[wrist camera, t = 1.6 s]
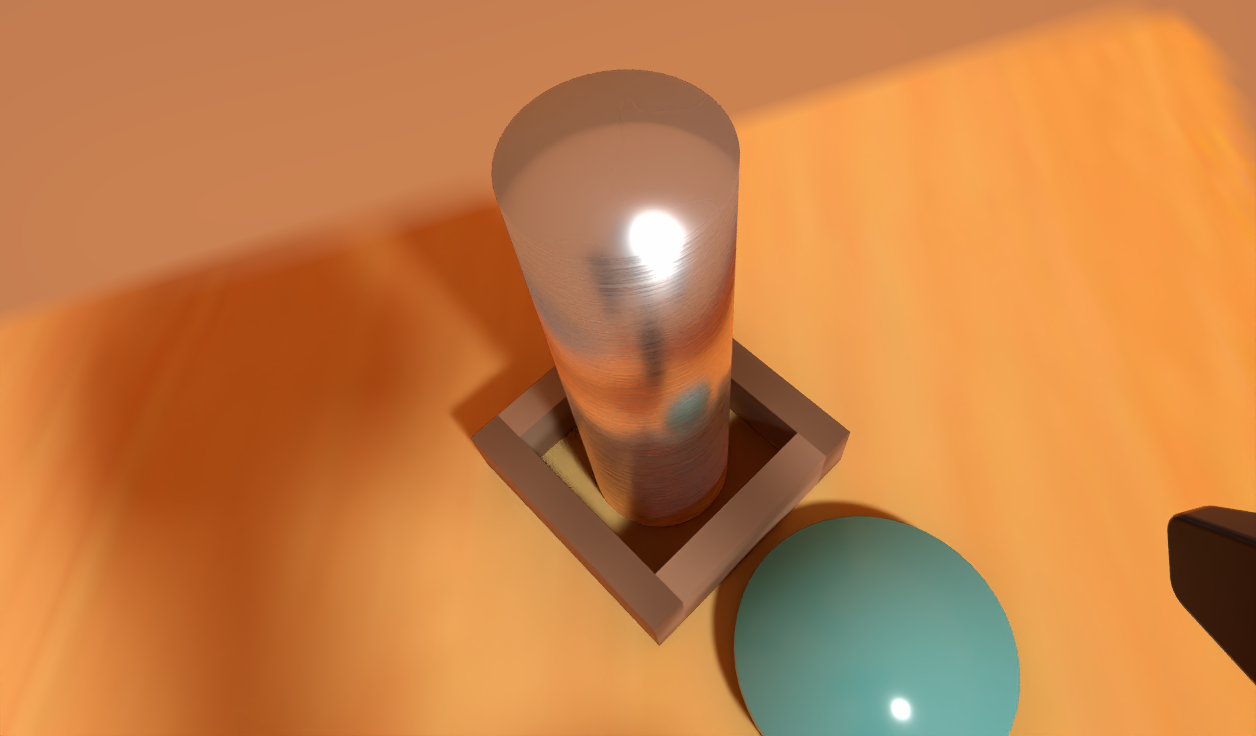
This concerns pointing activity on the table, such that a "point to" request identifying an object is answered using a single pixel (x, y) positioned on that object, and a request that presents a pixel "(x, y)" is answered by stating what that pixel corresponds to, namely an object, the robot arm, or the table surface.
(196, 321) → the table surface
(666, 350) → the peg
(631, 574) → the open brown square box
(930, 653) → the shiny teal dome
